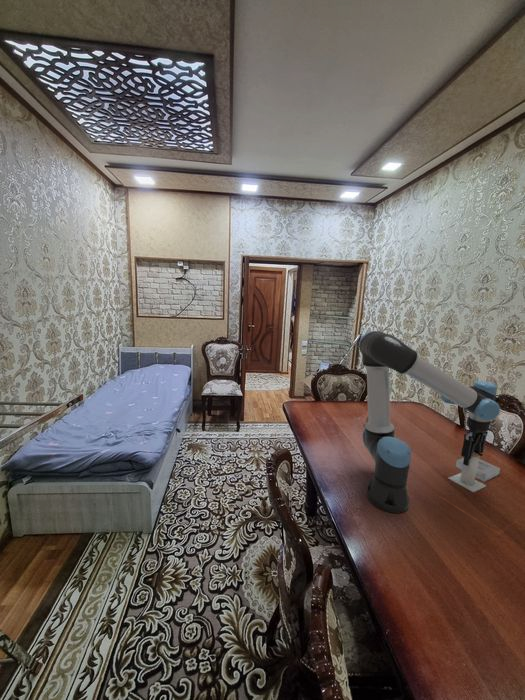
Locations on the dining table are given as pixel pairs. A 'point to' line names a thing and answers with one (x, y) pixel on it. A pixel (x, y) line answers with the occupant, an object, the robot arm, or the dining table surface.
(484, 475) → the housing
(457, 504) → the dining table surface
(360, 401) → the dining table surface
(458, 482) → the pad
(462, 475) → the off-white cylinder
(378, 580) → the dining table surface
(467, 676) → the dining table surface
